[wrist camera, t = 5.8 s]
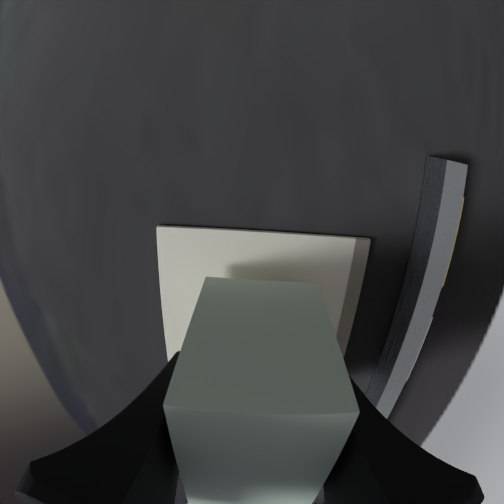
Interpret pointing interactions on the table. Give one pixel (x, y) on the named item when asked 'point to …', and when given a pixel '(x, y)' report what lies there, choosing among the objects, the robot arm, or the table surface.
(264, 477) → the sage carton
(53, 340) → the table surface
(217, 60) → the table surface
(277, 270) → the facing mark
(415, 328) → the rail
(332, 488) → the robot arm
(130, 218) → the table surface
